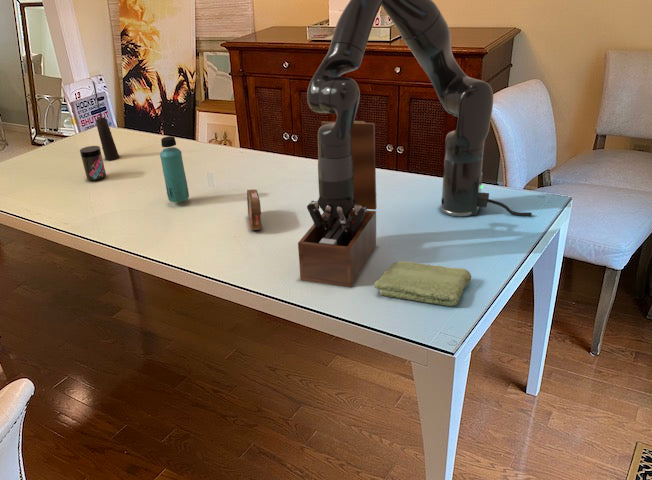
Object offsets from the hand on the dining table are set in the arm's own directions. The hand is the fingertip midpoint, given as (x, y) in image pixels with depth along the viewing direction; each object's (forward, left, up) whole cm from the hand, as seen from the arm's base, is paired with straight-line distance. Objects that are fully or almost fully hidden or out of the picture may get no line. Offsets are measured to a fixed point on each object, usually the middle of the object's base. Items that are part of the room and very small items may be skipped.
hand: (337, 245), depth 142 cm
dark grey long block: (0, 0, 0) cm, 0 cm away
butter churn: (+108, -57, -5) cm, 122 cm away
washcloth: (-21, +6, -5) cm, 22 cm away
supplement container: (+99, -37, -5) cm, 106 cm away
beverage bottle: (+58, -24, -5) cm, 63 cm away
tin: (+29, -16, -5) cm, 33 cm away
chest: (0, -1, -5) cm, 5 cm away
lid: (0, -9, +15) cm, 18 cm away
